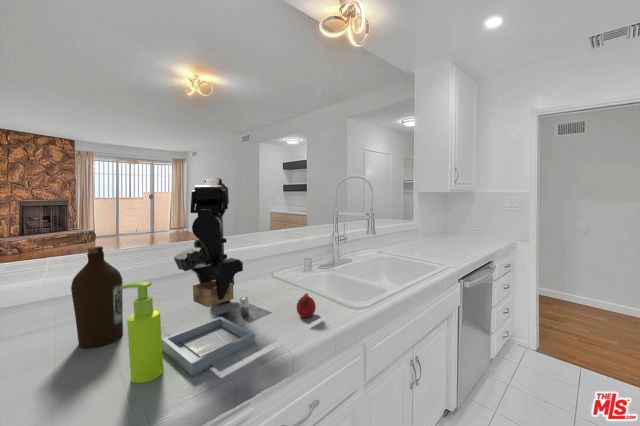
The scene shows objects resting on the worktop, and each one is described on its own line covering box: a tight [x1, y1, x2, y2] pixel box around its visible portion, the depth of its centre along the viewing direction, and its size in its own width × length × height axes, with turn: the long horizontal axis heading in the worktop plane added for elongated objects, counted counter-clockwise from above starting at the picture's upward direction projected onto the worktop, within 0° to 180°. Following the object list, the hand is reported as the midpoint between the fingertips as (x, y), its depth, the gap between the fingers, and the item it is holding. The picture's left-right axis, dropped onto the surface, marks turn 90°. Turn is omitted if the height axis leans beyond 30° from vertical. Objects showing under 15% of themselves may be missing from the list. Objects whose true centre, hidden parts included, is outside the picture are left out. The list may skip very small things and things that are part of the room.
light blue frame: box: [162, 316, 256, 378], centre depth 70 cm, size 16×16×3 cm
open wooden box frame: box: [192, 280, 235, 308], centre depth 71 cm, size 7×7×4 cm
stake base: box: [216, 296, 273, 327], centre depth 87 cm, size 12×12×6 cm
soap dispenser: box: [120, 281, 164, 384], centre depth 59 cm, size 6×7×20 cm
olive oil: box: [70, 245, 124, 349], centre depth 74 cm, size 11×11×25 cm
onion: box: [296, 292, 316, 319], centre depth 85 cm, size 6×6×8 cm
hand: (213, 296), depth 71 cm, fingers closed on open wooden box frame, 7 cm apart
